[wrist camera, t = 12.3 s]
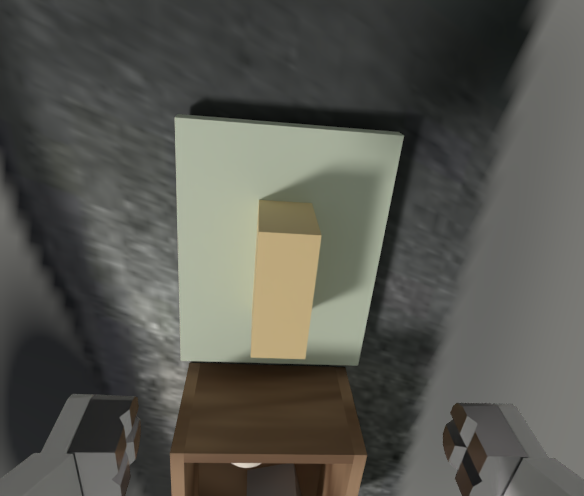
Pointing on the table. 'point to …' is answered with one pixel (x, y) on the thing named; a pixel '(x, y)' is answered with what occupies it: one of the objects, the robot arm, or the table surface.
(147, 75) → the table surface
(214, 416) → the walnut box
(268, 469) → the slate cube
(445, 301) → the table surface
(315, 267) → the lid
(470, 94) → the table surface
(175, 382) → the table surface
